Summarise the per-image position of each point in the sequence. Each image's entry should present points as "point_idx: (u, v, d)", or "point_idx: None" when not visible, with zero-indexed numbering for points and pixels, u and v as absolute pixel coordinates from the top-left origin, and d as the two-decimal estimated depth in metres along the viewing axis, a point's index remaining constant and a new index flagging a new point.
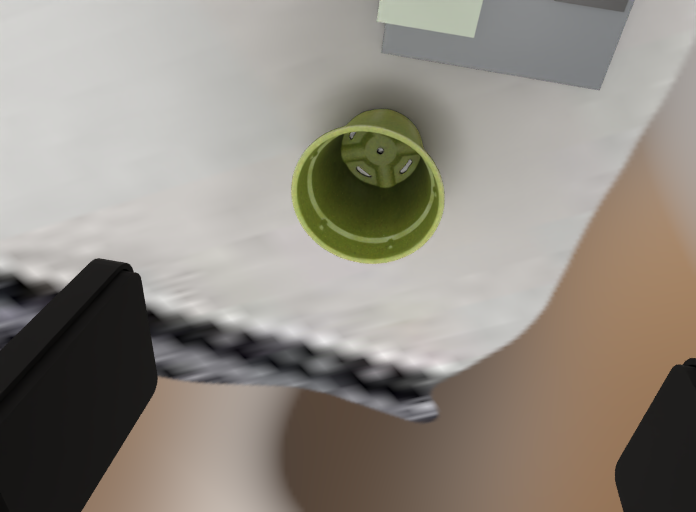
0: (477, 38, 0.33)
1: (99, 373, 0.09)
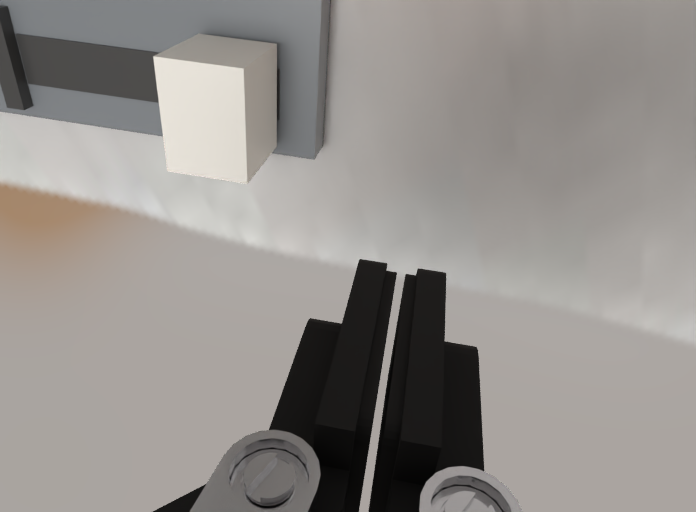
0: None
1: None
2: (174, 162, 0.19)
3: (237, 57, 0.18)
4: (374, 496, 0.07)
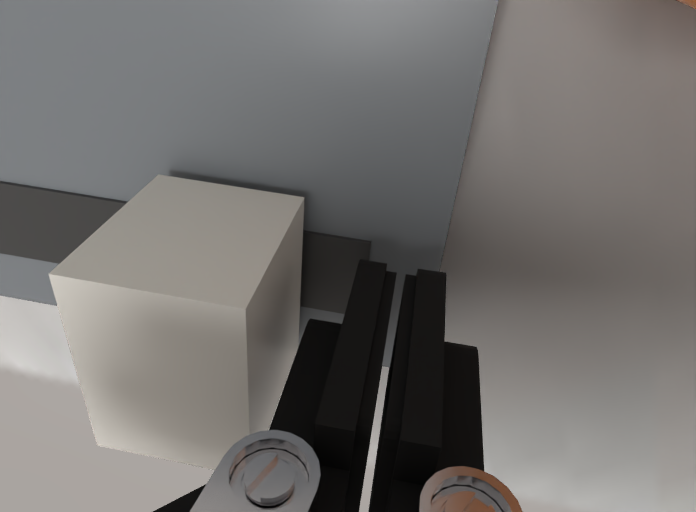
0: None
1: None
2: (109, 435, 0.10)
3: (231, 259, 0.09)
4: (374, 496, 0.07)
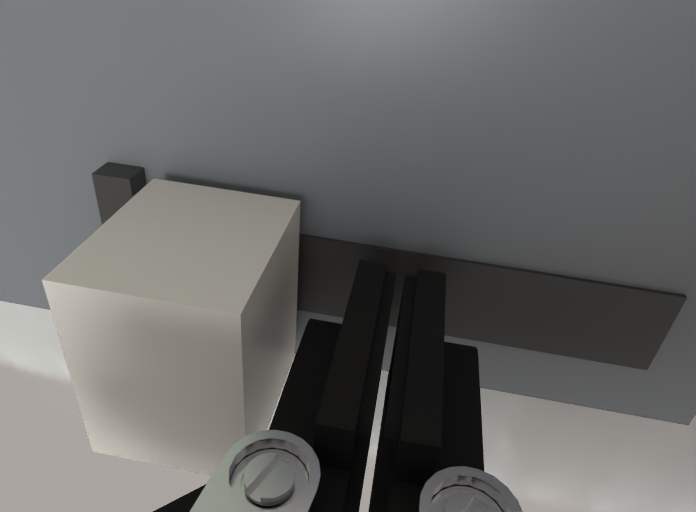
0: None
1: None
2: (105, 441, 0.10)
3: (226, 263, 0.09)
4: (374, 496, 0.07)
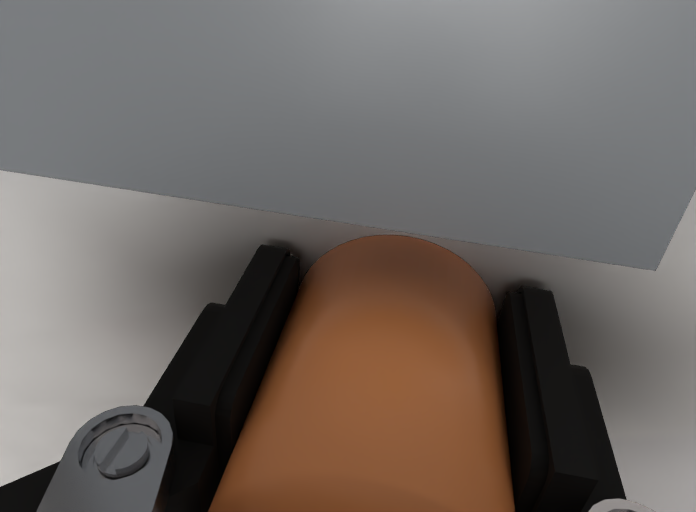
0: None
1: None
2: None
3: None
4: None
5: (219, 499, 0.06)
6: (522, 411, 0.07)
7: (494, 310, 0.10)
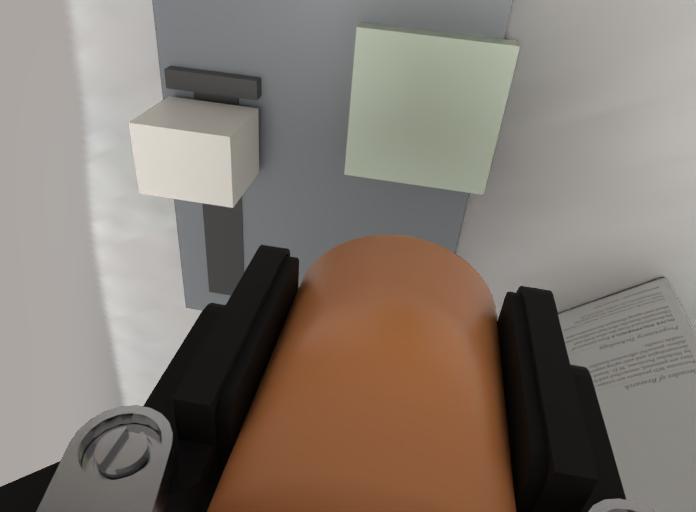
0: (352, 15, 0.21)
1: None
2: (139, 132, 0.21)
3: (241, 182, 0.22)
4: None
5: (217, 502, 0.06)
6: (522, 411, 0.07)
7: (495, 310, 0.10)
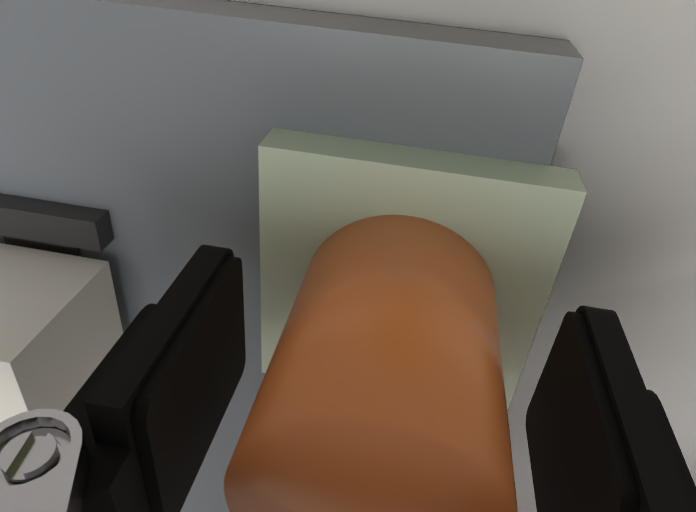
0: (257, 114, 0.11)
1: (213, 350, 0.09)
2: None
3: None
4: None
5: (242, 446, 0.07)
6: (601, 442, 0.07)
7: (493, 286, 0.11)
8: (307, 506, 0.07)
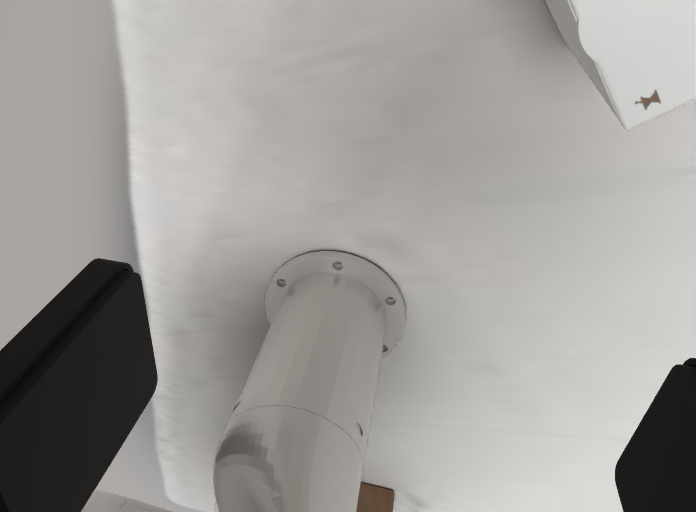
0: None
1: (99, 373, 0.09)
2: None
3: None
4: None
5: None
6: None
7: None
8: None
